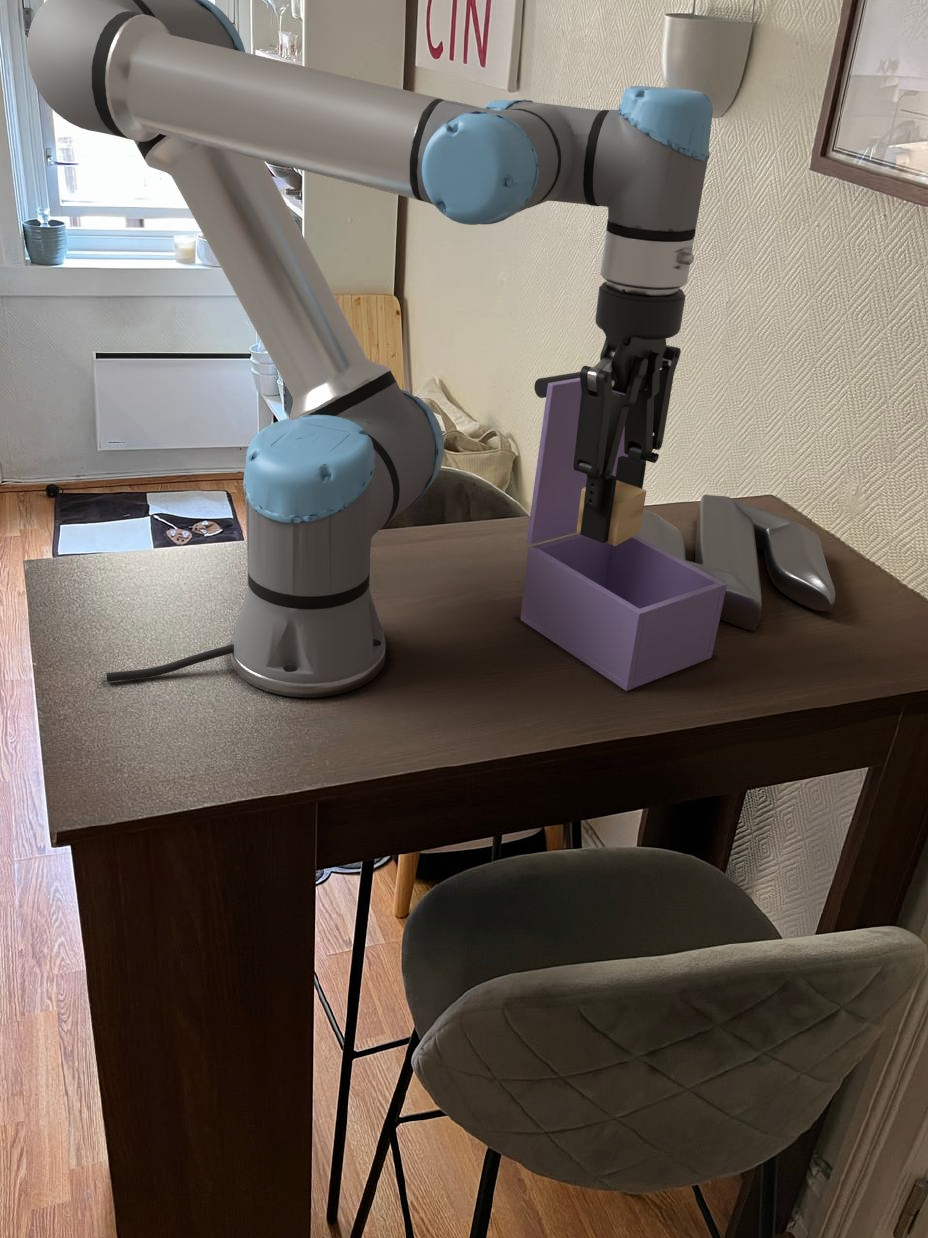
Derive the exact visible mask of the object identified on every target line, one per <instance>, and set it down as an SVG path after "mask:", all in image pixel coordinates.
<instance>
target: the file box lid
mask: <svg viewBox="0 0 928 1238" xmlns="http://www.w3.org/2000/svg"><path fill="white" fill-rule="evenodd" d="M533 387H534V393H535V395H536V397H538V398H540V399H545V404H544V409H543V417H542V425H541V432H540V441H539V447H538V454H537V463H536V468H535V469H536V470H535V477H534V483H533V484H534V485H533V492H532V498H531V506H530V514H529V520H528V527H527V535H526V543H528V544H530V545H534V544H535V545H536V544H539V543H542V542H546V541H549V540H553V539H557V538H560V537H561V538H562V537H564V536H568V535H571V534H575V533H578V532H577V523H578V515H579V507H580V499H581V491H582V488H585V487H586V482H587V475H586V474H585V473H582V472H579V471H576V470H574V468H573V465H574V456H575V447H576V438H577V429H578V420H579V411H580V402H581V393H582V391H581V382H580V371H577V372H571V373H564V374H559V375H551V376H546V377H540V378H536V380H535V381H534V386H533ZM612 392H615V393H619V394H622V395H625V394H624V393H620V392H617V391H613V390H612ZM624 426H625V425H624ZM620 456H625V457H628V455H627V454H625V453H624V429H623V433H622V437H621V441H620V445H619V449H618V453H617V456H616V460H615V464H614V468H613V472H612V475H613V476H616V470H617V462H618V457H620Z"/></svg>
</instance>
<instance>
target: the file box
mask: <svg viewBox="0 0 928 1238" xmlns="http://www.w3.org/2000/svg"><path fill="white" fill-rule="evenodd" d="M726 587H727V584H726V583H724V582H722V581H720V580H718V579H716V578H714V577H713V576H711V575H709V574H707V573H705V572H703V571H701V570H699V569H698V568H696V567H694V566H692V565H690V564H688V563H686V562H684V561H683V560H681V559H679V558H677V557H675V556H673V555H671V554H669V553H668V552H666V551H664V550H662V549H660V548H658V547H656V546H654V545H653V544H651V543H649V542H647V541H645V540H643V539H641V538H639V537H638V536H636V535H635V536H633V537H631V538H629V539H627V540H626V541H624V542H622V543H620V544H618V545H616V546H613V545H611V544H608V543H602V542H599V541H597V540H594V539H591V538H589V537H586V536H583V535H581V534H580V533H576V534H573V535H569V536H565V537H561V538H558V539H554V540H551V541H547V542H543V543H538V544H535V545H531V546H529V547H528V548H527V556H526V565H525V573H524V583H523V592H522V599H521V600H522V601H521V610H520V621H522V622H523V623H525V624H526V625H527V626H528V627H530V628H532V629H533V630H535V631H537V633H539V634H541V635H542V636H544V637H545V638H546V639H548V640H549V641H551V642H553V643H554V644H556V645H557V646H559V647H560V648H561V649H563V650H565V651H566V652H568V653H569V654H570V655H572V656H573V657H575V658H576V659H578V660H579V661H580V662H582V663H584V664H586V665H587V666H588V667H590V668H591V669H592V670H594V671H596V672H597V673H598V674H600V675H602V676H603V677H604V678H606V679H607V680H609V681H610V682H611V683H614V684H615V685H617V686H618V687H619V688H621V689H623V690H624V691H626V692H627V691H630V690H632V689H636V688H638V687H641V686H643V685H646V684H649V683H650V682H653V681H656V680H658V679H661V678H663V677H666V676H669V675H671V674H674V673H676V672H680V671H681V670H685V669H686V668H689V667H692V666H694V665H697V664H699V663H702V662H705V661H707V660H709V659H712V657H713V653H714V652H713V651H714V647H715V643H716V638H717V634H718V628H719V623H720V615H721V610H722V606H723V601H724V596H725V591H726Z"/></svg>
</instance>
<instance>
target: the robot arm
mask: <svg viewBox="0 0 928 1238" xmlns="http://www.w3.org/2000/svg"><path fill="white" fill-rule="evenodd" d="M27 34H28V35H27V44H26V54H27V63H28V67H29V71H30V75H31V78H32V80H33V83H34V86H35V87H36V89H37V91H38V93H39V94H40V96H41V97H42V99H43V100H44V102H45V103H46V104H47V105H48V106H49V108H51V109H52V111H54V112H55V113H56V114H57V115H58V116H59V117H60V118H61V119H63V120H64V121H66V122H68V123H69V124H71V125H73V126H76V127H77V128H80V129H82V130H85V131H89V132H95V133H101V134H104V135H105V134H106V135H109V136H115V137H118V138H119V137H120V138H122V139H126V140H131V141H133V142H134V143H135V146H136V147H137V149H138V151H139V152H140V154H141V156H142V158H143V160H144V162H145V163H146V165H147V166H148V167H149V168H152V169H155V170H158V171H160V172H163V173H167V174H168V175H169V176H170V177H171V178H172V180H173V182H174V184H175V185H176V187H177V189H178V191H179V192H180V194H181V197H182V198H183V200H184V202H185V204H186V205H187V208H188V209H189V211H190V213H191V215H192V217H193V219H194V221H195V222H196V224H197V226H198V227H199V229H200V231H201V233H202V235H203V236H204V238H205V240H206V241H207V244H208V246H209V247H210V249H211V251H212V253H213V255H214V257H215V258H216V260H217V262H218V264H219V266H220V267H221V270H222V271H223V273H224V275H225V277H226V279H227V281H228V282H229V284H230V286H231V287H232V288H231V289H232V290H233V292H234V293H235V295H236V297H237V299H238V301H239V302H240V304H241V307H242V308H243V310H244V312H245V313H246V315H247V317H248V319H249V320H250V323H251V324H252V326H253V328H254V330H255V332H256V333H257V335H258V337H259V339H260V341H261V343H262V345H263V346H264V348H265V350H266V351H267V353H268V356H269V357H270V359H271V362H272V363H273V365H274V367H275V368H276V370H277V372H278V374H279V375H280V378H282V381H283V383H284V385H285V386H286V389H287V391H288V392H289V394H290V395H291V397H292V406H291V410H290V415H289V418H285V419H281V420H278V421H276V422H273V423H271V424H269V425H267V426H266V427H265V428H263V429H262V430H260V431H259V432H258V433H257V434H255V436H254V437H253V438H252V440H251V442H250V443H249V445H248V447H247V450H246V454H245V455H246V456H245V469H244V471H243V472H244V473H243V482H242V486H243V487H242V488H243V492H244V498H245V499H244V500H245V501H244V503H245V525H246V526H245V528H246V531H245V532H246V556H247V557H246V558H247V559H246V560H247V561H246V562H247V563H246V564H247V590H246V593H245V596H244V599H243V602H242V605H241V608H240V611H239V614H238V618H237V621H236V624H235V626H234V629H233V632H232V635H231V640H230V644H228V645H225V646H221V647H218V648H213V649H211V650H206V651H203V652H199V653H197V654H193V655H190V656H187V657H184V658H181V659H178V660H175V661H173V662H169V663H166V664H162V665H158V666H154V667H149V668H143V669H142V668H141V669H135V670H134V669H133V670H123V671H122V670H121V671H112V672H106V673H105V677H106V682H107V683H109V682H118V681H131V680H139V679H147V678H152V677H157V676H162V675H166V674H169V673H172V672H175V671H179V670H182V669H184V668H187V667H190V666H193V665H196V664H199V663H203V662H206V661H209V660H210V661H211V660H213V659H216V658H220V657H223V656H228V655H230V659H231V660H230V661H231V665H232V667H233V670H234V671H235V672H236V674H237V675H238V676H239V677H241V679H242V680H243V681H245V682H246V683H248V684H249V685H251V686H253V687H255V688H257V689H259V690H262V691H265V692H268V693H272V694H275V695H279V696H286V697H292V698H293V697H294V698H323V697H329V696H336V695H340V694H345V693H348V692H351V691H353V690H356V689H358V688H361V687H362V686H365V685H366V684H368V683H369V682H371V681H372V680H374V679H375V678H376V677H377V676H378V675H379V674H380V672H381V671H382V669H383V667H384V665H385V662H386V660H385V659H386V647H387V645H386V639H385V634H384V630H383V628H382V627H383V626H382V624H381V621H380V619H379V614H378V612H377V609H376V606H375V603H374V600H373V597H372V594H371V590H370V574H371V552H372V551H371V548H372V539H373V536H375V534H377V533H378V532H379V531H380V530H382V529H383V528H384V527H385V526H386V525H387V524H388V523H390V522H391V521H392V520H394V518H396V517H397V516H398V515H400V514H401V513H402V512H403V511H404V510H406V509H408V508H409V507H411V506H413V505H414V504H416V503H417V502H418V501H419V500H420V499H421V498H422V497H423V496H424V495H425V493H427V491H428V489H429V488H430V487H431V485H432V484H433V483H434V482H435V480H436V479H437V477H438V475H439V473H440V471H441V469H442V465H443V460H444V455H445V442H444V441H445V440H444V435H443V431H442V428H441V425H440V422H439V420H438V418H437V417H436V415H435V412H434V411H433V410H432V409H431V407H430V406H429V405H428V404H427V403H426V402H425V400H423V399H422V398H421V397H419V396H418V395H416V396H415V395H413V394H411V393H410V392H409V391H407V390H403V389H401V388H400V386H399V384H398V382H397V380H396V378H395V376H394V374H393V372H392V371H391V369H390V367H389V366H387V365H385V364H381V363H379V362H375V361H373V360H370V359H369V358H368V356H367V355H366V353H365V352H364V351H365V350H364V349H363V347H362V346H361V344H360V342H359V339H358V338H357V336H356V334H355V333H354V330H353V328H352V326H351V324H350V323H349V321H348V318H347V317H346V315H345V313H344V311H343V309H342V307H341V305H340V303H339V302H338V299H337V298H336V296H335V294H334V292H333V290H332V288H331V287H330V284H329V283H328V281H327V279H326V276H325V275H324V273H323V271H322V269H321V267H320V265H319V263H318V261H317V260H316V258H315V256H314V254H313V252H312V250H311V249H310V246H309V244H308V242H307V241H306V239H305V237H304V235H303V232H302V231H301V229H300V227H299V225H298V224H297V221H296V219H295V218H294V216H293V214H292V212H291V210H290V208H289V206H288V204H287V202H286V201H285V199H284V197H283V194H282V193H281V191H280V189H279V187H278V185H277V183H276V182H275V179H274V178H273V176H272V174H271V172H270V170H269V168H268V166H267V165H266V163H265V162H268V163H272V164H277V165H281V166H284V167H288V168H291V169H295V170H300V171H304V172H308V173H310V174H311V173H312V174H314V175H320V176H322V177H327V178H331V179H334V180H338V181H343V182H347V183H350V184H354V185H358V186H362V187H365V188H366V187H367V188H370V189H374V190H377V191H382V192H385V193H389V194H394V195H398V196H401V197H404V198H409V199H413V200H417V201H420V202H424V203H428V204H430V205H432V206H434V207H435V208H436V209H437V210H438V211H439V212H440V213H441V214H442V215H444V216H445V217H446V218H448V219H449V220H451V221H453V222H455V223H458V224H461V225H466V226H467V225H469V226H475V225H476V226H477V225H494V224H497V223H500V222H503V221H505V220H507V219H509V218H510V217H512V216H514V215H516V214H517V213H520V212H523V211H524V210H527V209H530V208H533V207H536V206H538V205H541V204H544V203H546V202H559V203H569V204H576V205H577V204H578V205H586V206H591V207H603V208H607V222H606V230H605V237H604V244H603V252H602V258H601V259H602V260H601V267H600V272H599V273H600V274H599V275H600V276H601V277H602V278H603V279H604V280H605V281H604V282H603V283H601V285H600V286H599V287H598V293H597V294H598V295H597V304H596V311H595V318H594V319H595V325H596V326H597V327H598V328H599V329H600V330H601V331H603V333H604V335H605V339H604V343H603V346H602V348H601V351H600V356H599V361H598V362H597V363H596V364H595V365H594V366H588V365H582V367H581V369H580V371H579V372H580V382H581V391H582V393H581V402H580V411H579V420H578V429H577V438H576V447H575V456H574V465H573V468H574V470H576V471H579V472H582V473H585V474H586V475H587V482H586V490H585V498H584V508H583V516H582V524H581V532H580V533H579V534H581V535H583V536H586V537H589V538H591V539H594V540H597V541H599V542H602V543H605V542H607V541H608V536H609V529H610V522H611V514H612V507H613V500H614V495H615V488H616V481H617V480H618V481H621V482H624V483H626V484H629V485H632V486H635V487H638V488H641V489H643V488H644V480H645V474H646V469H647V462H649V463H653V464H655V463H657V462H658V460H659V457H660V454H659V453H657V452H653V451H654V450H656V451H659V450H661V448H662V446H663V442H664V437H665V431H666V424H667V419H668V413H669V407H670V400H671V396H672V390H673V383H674V377H675V372H676V369H677V366H678V363H679V360H680V356H681V353H682V352H681V348H680V347H677V346H672V345H669V344H667V339H670V338H673V337H675V336H676V335H678V334H679V332H680V331H681V327H682V323H683V316H684V310H685V309H684V308H685V302H686V294H685V293H684V291H683V289H681V288H682V287H684V286H685V285H686V284H687V283H688V278H689V275H690V274H689V273H690V267H691V265H692V264H693V263H694V260H695V256H694V254H693V250H694V249H693V248H694V241H695V236H696V231H697V225H698V218H699V213H700V208H701V207H700V206H701V201H702V195H703V190H704V185H705V179H706V172H707V168H708V162H709V159H710V154H711V152H710V149H709V148H710V142H711V141H710V140H711V131H712V121H713V111H714V106H713V102H712V100H711V98H710V96H708V95H707V94H706V93H704V92H703V91H698V90H692V89H686V88H684V89H683V88H678V87H677V88H675V87H661V86H660V87H658V86H651V85H650V86H649V85H647V86H646V85H633V86H629V87H628V88H626V89H625V90H624V92H623V94H622V97H621V103H619V105H618V109H602V110H601V109H594V108H585V107H577V106H569V105H561V104H552V103H545V102H544V103H543V102H537V101H536V102H534V101H533V100H531V99H521V100H520V99H519V100H518V99H513V100H504V99H498V100H497V99H496V100H492V101H490V102H488V103H487V104H486V105H484V107H481V106H480V107H479V106H476V105H473V104H472V105H471V104H467V103H463V102H459V101H455V100H448V99H443V98H440V97H437V96H433V95H428V94H423V93H420V92H415V91H411V90H408V89H407V90H406V89H402V88H398V87H394V86H389V85H387V84H386V85H385V84H381V83H377V82H372V81H369V80H364V79H360V78H356V77H351V76H347V75H343V74H339V73H334V72H330V71H326V70H322V69H318V68H313V67H309V66H304V65H300V64H295V63H291V62H287V61H285V60H284V61H283V60H279V59H275V58H271V57H266V56H263V55H258V54H253V53H251V52H250V53H249V52H246V49H245V46H244V43H243V41H242V37H241V36H240V34H239V31H238V29H236V27H235V25H234V24H233V22H232V21H231V19H230V18H229V17H228V16H227V14H225V13H224V11H223V10H221V8H219V7H218V6H217V5H216V4H214V3H213V2H212V1H210V0H45V2H43V3H42V5H41V6H40V7H39V8H38V10H37V11H36V13H35V15H34V16H33V19H32V21H31V23H30V27H29V29H28V33H27ZM612 390H613V391H617V392H620V393H624V394H625V395H622V394H619V393H615V392H612ZM624 425H625V426H624ZM623 429H624V453H625V454H627V455H628V457H625V456H620V457H618V462H617V470H616V476H613V475H612V472H613V468H614V464H615V460H616V456H617V453H618V449H619V445H620V441H621V437H622V433H623Z"/></svg>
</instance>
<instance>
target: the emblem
mask: <svg viewBox="0 0 928 1238" xmlns="http://www.w3.org/2000/svg"><path fill="white" fill-rule="evenodd" d="M695 531H696V532H695V535H696V536H695V556H694V557H695V559H694V561H695V562H694V561H690V560H687V554H686V553H687V552H686V543H685V538H684V535H683V533H682V531H681V530H680V529H679V528H678V527H676V526H675V525H673V524H672V523H670V522H669V521H667V520H665V519H664V518H663V517H661V516H660V515H658V514H657V513H655V512H652V511H650V510H646V509H644V510H643V516H642V523H641V529H640V533H639V534H637V535H636V536H638V537H639V538H641V539H643V540H645V541H647V542H649V543H651V544H653V545H654V546H656V547H658V548H660V549H662V550H664V551H666V552H668V553H669V554H671V555H673V556H675V557H677V558H679V559H681V560H683V561H684V562H686V563H688V564H690V565H692V566H694V567H696V568H698V569H699V570H701V571H703V572H705V573H707V574H709V575H711V576H713V577H714V578H716V579H718V580H720V581H722V582H724V583H726V584H727V587H726V591H725V596H724V601H723V606H722V610H721V615H720V620H721V621H723V622H725V623H729V624H731V625H733V626H736V627H739V628H741V629H743V630H747V631H754V630H756V629H757V627H758V625H759V624H760V620H761V616H762V613H763V612H762V610H763V596H762V587H761V578H760V569H759V559H758V550H763V554H764V560H765V566H766V569H767V573H768V576H769V578H770V581H771V582H772V583H773V585H774V586H775V587H776V589H777V590H778V591H779V592H781V593H782V594H783V595H785V596H786V597H788V598H790V599H791V600H793V601H794V602H796V603H798V604H799V605H802V606H804V607H807V608H809V609H811V610H815V611H819V612H828V613H832V611H833V609H834V606H835V601H836V590H835V586H834V582H833V580H832V577H831V574H830V570H829V568H828V565H827V562H826V558H825V554H824V550H823V547H822V543H821V540H820V537H819V535H818V534H817V533H815V532H814V531H812V530H810V529H809V528H807V527H805V526H804V525H802V524H800V523H798V522H797V521H794V520H791V519H788V518H786V517H783V516H780V515H778V514H775V513H772V512H770V511H768V510H764V509H762V508H759V507H757V506H753V505H751V504H750V503H749V504H748V503H747V502H744V501H741V500H738V499H735V498H733V497H730V496H727V495H713V494H703V495H702V497H701V498H700V501H699V505H698V510H697V517H696V530H695ZM720 620H719V621H720Z"/></svg>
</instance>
